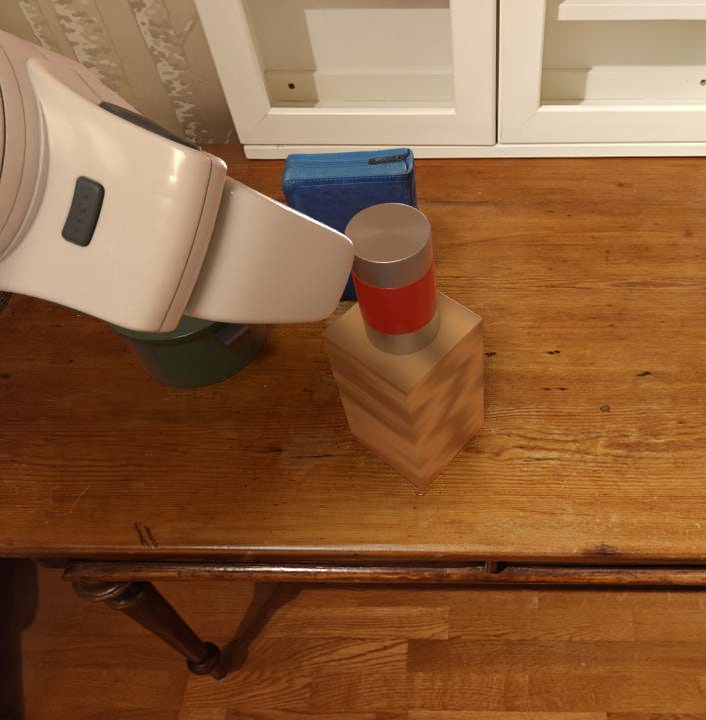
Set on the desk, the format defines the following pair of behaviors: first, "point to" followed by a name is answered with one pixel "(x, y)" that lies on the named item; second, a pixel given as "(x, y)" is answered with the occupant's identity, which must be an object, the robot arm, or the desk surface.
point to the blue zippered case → (348, 186)
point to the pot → (195, 350)
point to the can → (395, 277)
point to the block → (412, 391)
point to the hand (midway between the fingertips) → (252, 223)
